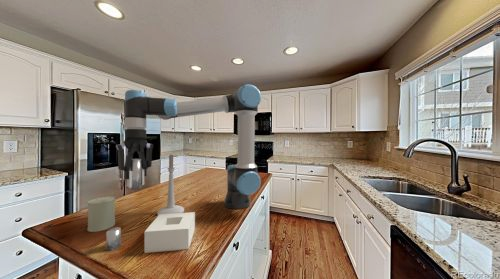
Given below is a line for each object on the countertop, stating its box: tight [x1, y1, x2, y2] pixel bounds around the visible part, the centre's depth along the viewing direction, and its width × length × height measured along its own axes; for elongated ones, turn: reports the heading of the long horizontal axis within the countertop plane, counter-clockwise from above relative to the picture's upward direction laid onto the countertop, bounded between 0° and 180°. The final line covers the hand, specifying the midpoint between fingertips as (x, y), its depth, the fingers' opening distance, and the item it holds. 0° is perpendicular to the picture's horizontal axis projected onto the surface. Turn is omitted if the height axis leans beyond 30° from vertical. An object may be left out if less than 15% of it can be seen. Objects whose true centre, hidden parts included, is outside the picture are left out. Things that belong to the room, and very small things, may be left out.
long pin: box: [129, 158, 142, 191], centre depth 73 cm, size 4×4×12 cm
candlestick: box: [156, 154, 185, 216], centre depth 92 cm, size 13×13×30 cm
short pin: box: [105, 226, 122, 252], centre depth 62 cm, size 4×4×6 cm
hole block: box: [144, 211, 196, 254], centre depth 67 cm, size 14×14×7 cm
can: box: [87, 196, 116, 233], centre depth 77 cm, size 9×9×12 cm
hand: (135, 185), depth 73 cm, fingers closed on long pin, 4 cm apart
